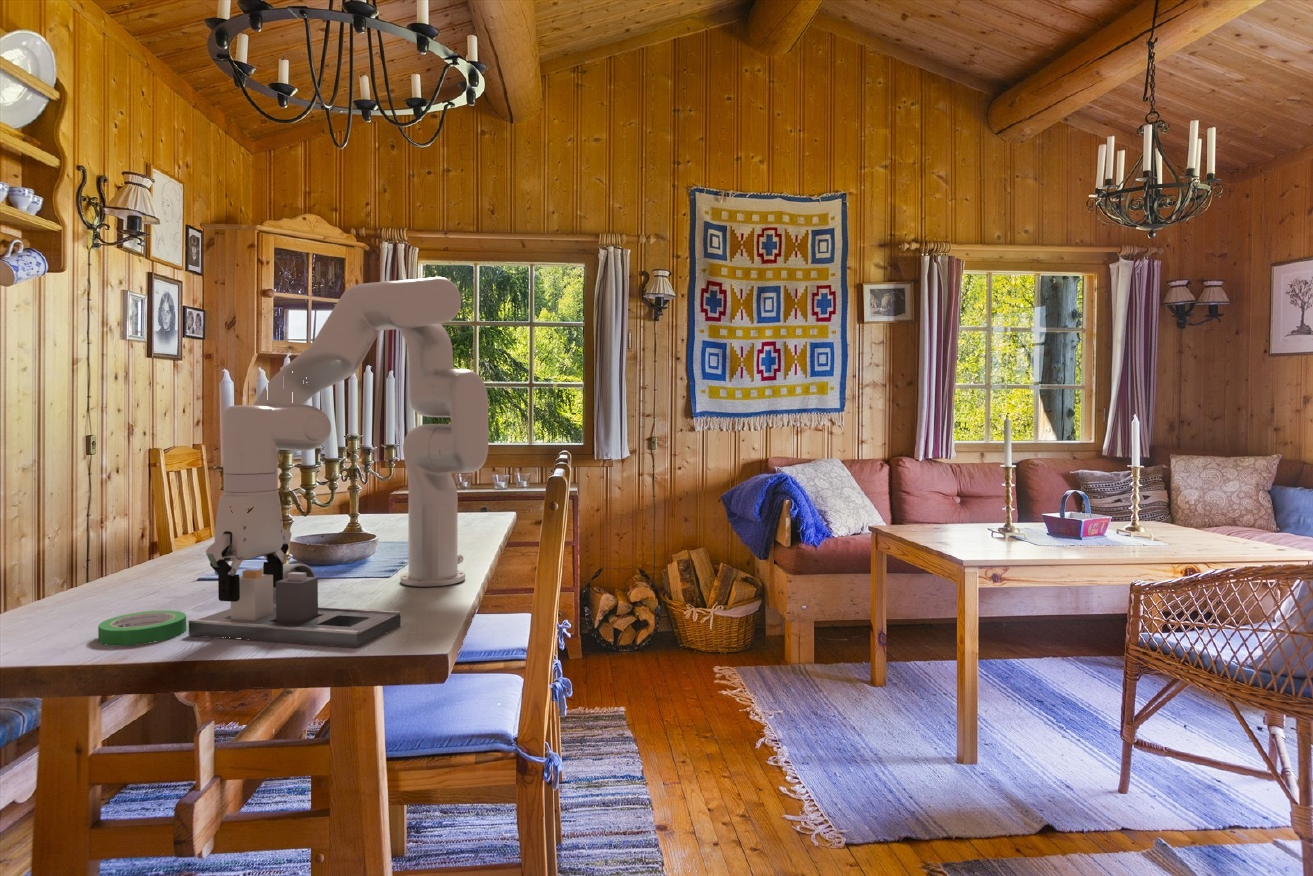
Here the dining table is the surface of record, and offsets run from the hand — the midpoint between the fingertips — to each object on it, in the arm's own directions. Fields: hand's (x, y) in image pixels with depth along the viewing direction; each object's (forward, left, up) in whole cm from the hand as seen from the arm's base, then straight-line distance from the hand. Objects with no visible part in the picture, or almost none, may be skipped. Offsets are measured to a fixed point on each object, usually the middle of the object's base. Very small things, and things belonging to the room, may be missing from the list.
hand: (252, 593), depth 121 cm
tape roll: (+7, -13, -6) cm, 16 cm away
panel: (0, +8, -5) cm, 10 cm away
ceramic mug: (-11, -4, -6) cm, 13 cm away
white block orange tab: (0, 0, -5) cm, 5 cm away
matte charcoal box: (0, +8, -5) cm, 10 cm away
